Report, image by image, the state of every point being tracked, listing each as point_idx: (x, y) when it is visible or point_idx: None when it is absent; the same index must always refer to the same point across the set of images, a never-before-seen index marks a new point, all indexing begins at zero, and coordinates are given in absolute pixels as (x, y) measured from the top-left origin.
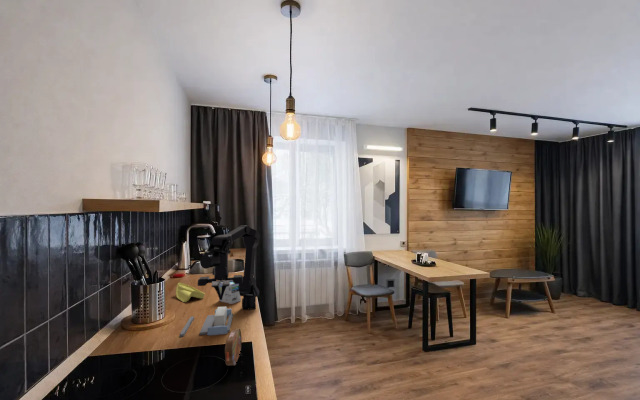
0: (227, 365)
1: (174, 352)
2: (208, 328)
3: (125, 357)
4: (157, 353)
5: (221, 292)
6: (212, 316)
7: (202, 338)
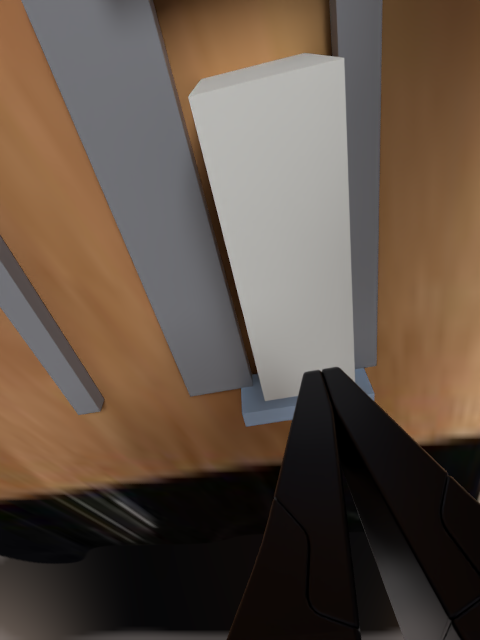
0: None
1: (168, 499)
2: (251, 423)
3: (7, 522)
4: (104, 505)
5: (391, 587)
6: (110, 33)
7: (228, 414)
